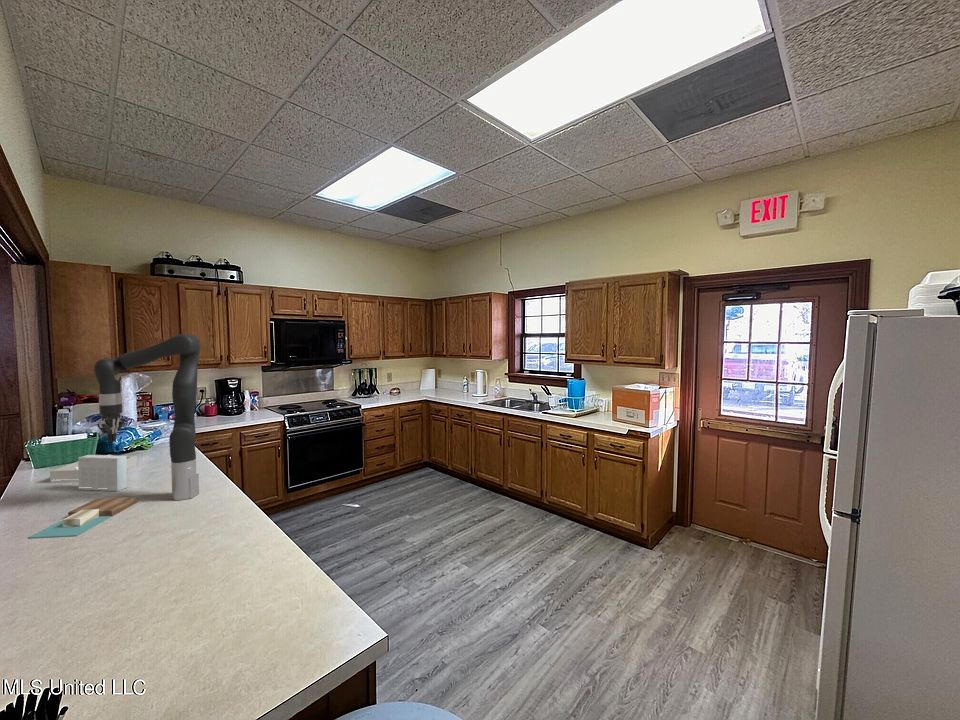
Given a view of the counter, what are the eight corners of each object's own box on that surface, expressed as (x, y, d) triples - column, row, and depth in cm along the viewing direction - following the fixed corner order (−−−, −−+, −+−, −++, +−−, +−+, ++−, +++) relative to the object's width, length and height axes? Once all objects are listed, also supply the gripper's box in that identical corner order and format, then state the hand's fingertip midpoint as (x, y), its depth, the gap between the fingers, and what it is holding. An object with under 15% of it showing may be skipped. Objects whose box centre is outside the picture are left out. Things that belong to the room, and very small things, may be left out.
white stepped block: (137, 466, 228) (137, 455, 228) (103, 481, 204) (102, 469, 204) (90, 467, 225) (90, 457, 225) (50, 482, 201) (49, 471, 201)
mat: (111, 517, 164) (111, 516, 164) (76, 536, 148) (76, 535, 148) (67, 518, 162) (67, 517, 162) (27, 538, 146) (27, 537, 146)
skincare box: (128, 487, 196) (127, 455, 195) (117, 491, 190) (116, 458, 190) (89, 485, 198) (88, 454, 197) (77, 489, 193) (76, 457, 192)
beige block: (99, 516, 163) (98, 509, 163) (80, 526, 154) (79, 518, 154) (82, 516, 163) (82, 509, 162) (62, 527, 154) (62, 519, 153)
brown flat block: (136, 502, 178) (136, 497, 178) (112, 516, 164) (111, 510, 164) (96, 504, 176) (96, 498, 176) (68, 518, 162) (68, 512, 162)
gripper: (108, 405, 171) (109, 445, 172) (131, 400, 184) (132, 438, 185) (88, 405, 170) (90, 446, 171) (113, 401, 183) (114, 438, 184)
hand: (112, 441), depth 178 cm, fingers closed
